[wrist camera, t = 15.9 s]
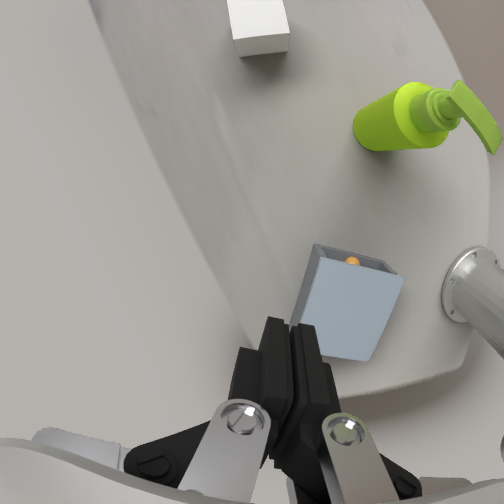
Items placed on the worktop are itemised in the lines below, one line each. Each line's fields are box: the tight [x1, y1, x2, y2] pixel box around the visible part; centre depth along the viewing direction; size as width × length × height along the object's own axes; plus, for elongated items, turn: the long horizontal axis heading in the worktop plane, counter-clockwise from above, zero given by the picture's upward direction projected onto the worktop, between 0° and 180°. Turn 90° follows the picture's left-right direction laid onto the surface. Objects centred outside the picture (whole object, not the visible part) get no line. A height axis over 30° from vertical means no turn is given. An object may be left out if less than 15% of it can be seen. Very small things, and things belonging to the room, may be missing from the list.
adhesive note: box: [227, 0, 290, 57], centre depth 27 cm, size 6×6×6 cm
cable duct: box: [289, 244, 397, 330], centre depth 36 cm, size 10×12×5 cm
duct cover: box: [299, 256, 405, 362], centre depth 33 cm, size 11×12×1 cm
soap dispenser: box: [353, 80, 503, 155], centre depth 22 cm, size 6×7×20 cm
